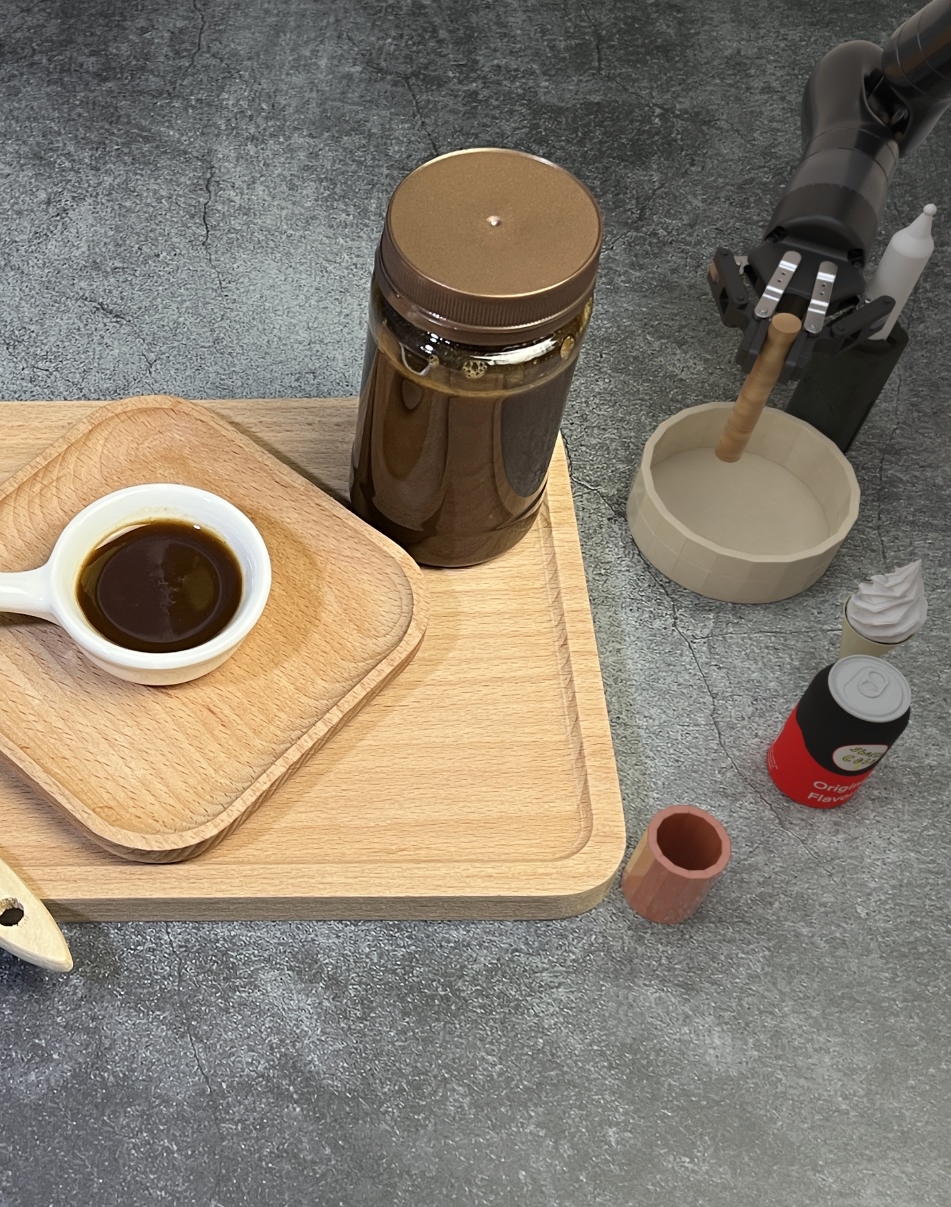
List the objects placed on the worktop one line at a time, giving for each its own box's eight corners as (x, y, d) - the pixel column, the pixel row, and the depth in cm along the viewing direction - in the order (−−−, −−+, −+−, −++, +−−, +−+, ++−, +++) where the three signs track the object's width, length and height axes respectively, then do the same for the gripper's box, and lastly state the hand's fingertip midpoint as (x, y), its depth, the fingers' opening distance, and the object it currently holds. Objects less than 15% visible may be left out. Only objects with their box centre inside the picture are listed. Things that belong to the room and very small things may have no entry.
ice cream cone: (830, 714, 106) (910, 596, 94) (791, 660, 109) (864, 539, 97) (889, 694, 107) (976, 575, 95) (849, 641, 110) (929, 519, 97)
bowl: (867, 505, 117) (893, 460, 113) (783, 638, 110) (807, 597, 106) (680, 418, 123) (698, 372, 119) (590, 539, 116) (605, 496, 112)
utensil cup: (710, 885, 99) (745, 833, 92) (675, 943, 96) (709, 894, 90) (640, 843, 101) (670, 790, 94) (605, 900, 98) (633, 849, 92)
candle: (807, 411, 123) (926, 172, 103) (855, 447, 120) (986, 209, 100) (766, 437, 121) (878, 200, 101) (814, 475, 119) (938, 238, 99)
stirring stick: (745, 460, 112) (807, 329, 100) (722, 465, 111) (780, 335, 100) (733, 441, 113) (793, 310, 101) (710, 446, 113) (766, 315, 101)
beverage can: (745, 778, 103) (801, 690, 93) (789, 721, 106) (847, 630, 96) (827, 831, 101) (893, 746, 91) (869, 771, 103) (938, 683, 93)
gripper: (748, 157, 108) (684, 301, 100) (939, 208, 104) (889, 364, 96) (719, 234, 114) (656, 377, 106) (898, 286, 110) (848, 438, 102)
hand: (767, 370), depth 101 cm, fingers closed on stirring stick, 2 cm apart
